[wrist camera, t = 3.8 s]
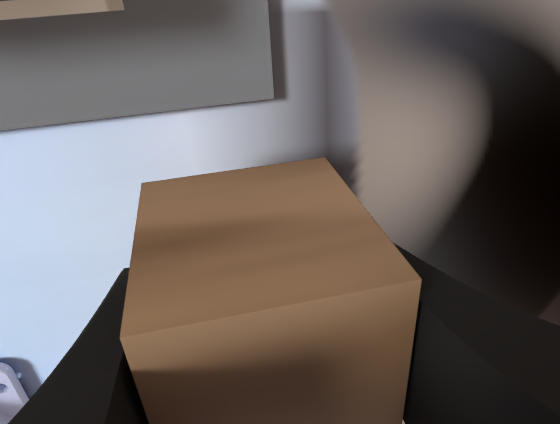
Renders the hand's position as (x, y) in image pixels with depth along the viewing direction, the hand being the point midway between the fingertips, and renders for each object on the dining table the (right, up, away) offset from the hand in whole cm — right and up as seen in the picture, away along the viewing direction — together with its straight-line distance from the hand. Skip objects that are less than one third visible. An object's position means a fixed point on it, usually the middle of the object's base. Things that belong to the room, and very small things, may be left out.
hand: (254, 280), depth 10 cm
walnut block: (0, +1, +1) cm, 2 cm away
